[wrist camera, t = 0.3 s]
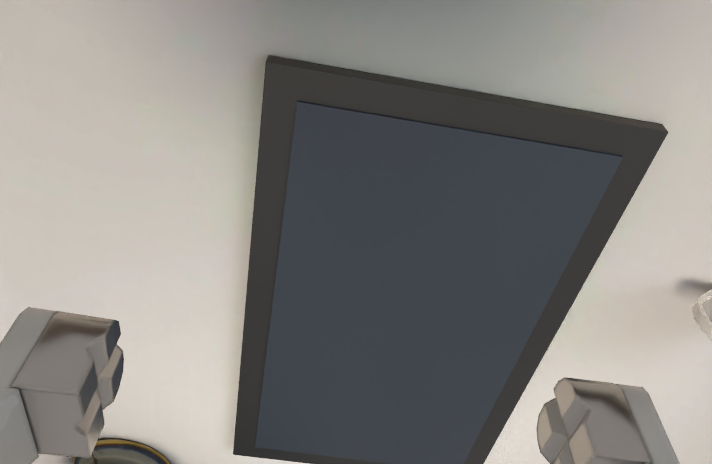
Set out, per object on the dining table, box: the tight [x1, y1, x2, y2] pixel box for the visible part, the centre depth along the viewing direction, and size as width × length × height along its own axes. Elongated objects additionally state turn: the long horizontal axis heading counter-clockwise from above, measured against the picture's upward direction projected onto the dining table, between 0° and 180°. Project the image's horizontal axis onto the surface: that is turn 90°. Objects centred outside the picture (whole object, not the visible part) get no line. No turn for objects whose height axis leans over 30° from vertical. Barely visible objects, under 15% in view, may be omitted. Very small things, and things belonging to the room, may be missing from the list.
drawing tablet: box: [233, 56, 668, 464], centre depth 47 cm, size 40×24×1 cm, turn 170°
